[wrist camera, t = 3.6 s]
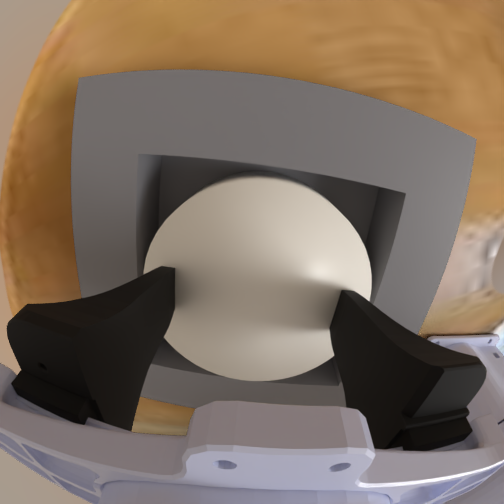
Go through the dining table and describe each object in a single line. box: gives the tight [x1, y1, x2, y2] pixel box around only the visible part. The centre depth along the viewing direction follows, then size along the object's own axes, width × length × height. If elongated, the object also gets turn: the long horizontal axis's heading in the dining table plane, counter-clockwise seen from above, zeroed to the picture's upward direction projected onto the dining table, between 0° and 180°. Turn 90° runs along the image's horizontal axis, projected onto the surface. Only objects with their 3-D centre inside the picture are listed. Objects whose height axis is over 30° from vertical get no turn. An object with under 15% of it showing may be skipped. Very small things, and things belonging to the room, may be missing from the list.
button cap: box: [144, 171, 372, 381], centre depth 14 cm, size 10×10×3 cm
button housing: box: [71, 70, 476, 408], centre depth 14 cm, size 18×18×4 cm
